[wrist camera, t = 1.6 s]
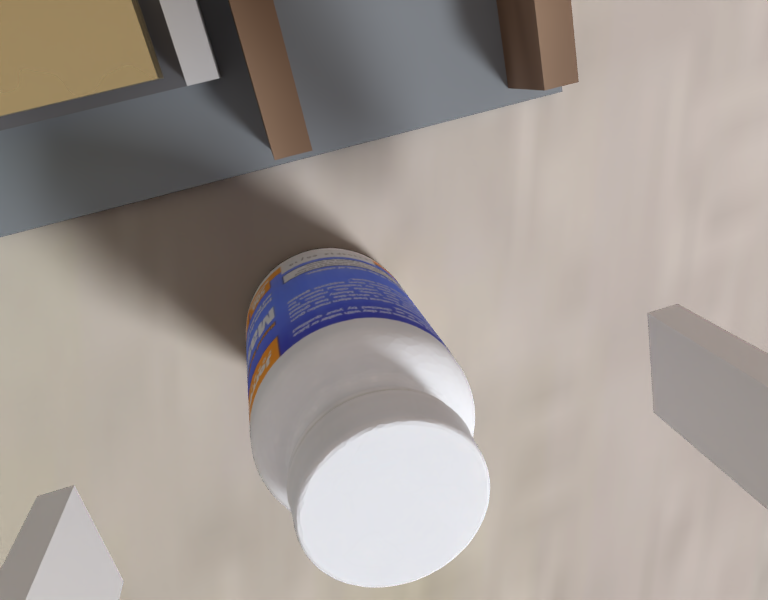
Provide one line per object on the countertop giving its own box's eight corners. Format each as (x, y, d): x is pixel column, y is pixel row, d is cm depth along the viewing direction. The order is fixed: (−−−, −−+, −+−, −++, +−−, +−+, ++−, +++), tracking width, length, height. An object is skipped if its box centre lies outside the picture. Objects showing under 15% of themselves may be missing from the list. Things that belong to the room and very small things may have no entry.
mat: (-329, 319, 17) (-341, 325, 16) (-599, -50, 13) (-622, -54, 13) (556, 91, 20) (562, 91, 20) (519, -258, 16) (525, -266, 16)
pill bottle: (229, 260, 20) (220, 419, 11) (396, 230, 20) (517, 354, 11) (263, 409, 22) (279, 648, 13) (414, 376, 22) (528, 578, 13)
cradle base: (-38, 139, 17) (-77, 149, 14) (-108, -8, 15) (-162, -21, 13) (221, 77, 17) (219, 78, 15) (177, -68, 16) (168, -88, 14)
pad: (-21, 121, 15) (-41, 125, 14) (-84, -17, 14) (-112, -24, 13) (163, 77, 15) (157, 78, 14) (118, -58, 14) (107, -70, 13)
